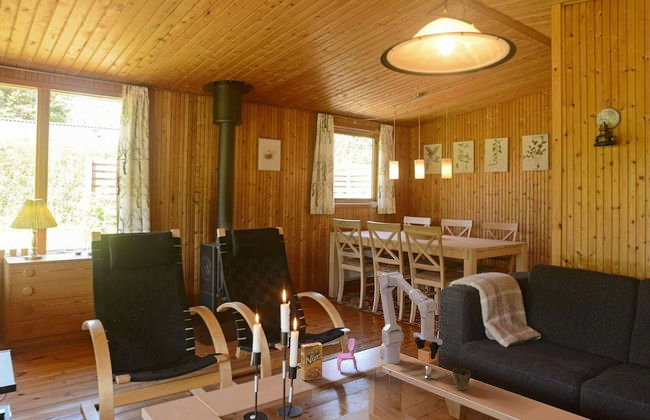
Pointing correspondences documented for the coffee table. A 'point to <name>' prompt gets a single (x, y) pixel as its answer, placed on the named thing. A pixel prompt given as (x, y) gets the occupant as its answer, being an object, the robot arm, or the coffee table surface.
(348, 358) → the toy chair
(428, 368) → the post
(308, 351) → the candy box
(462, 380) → the cup
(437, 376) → the board
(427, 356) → the collar
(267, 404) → the coffee table surface
